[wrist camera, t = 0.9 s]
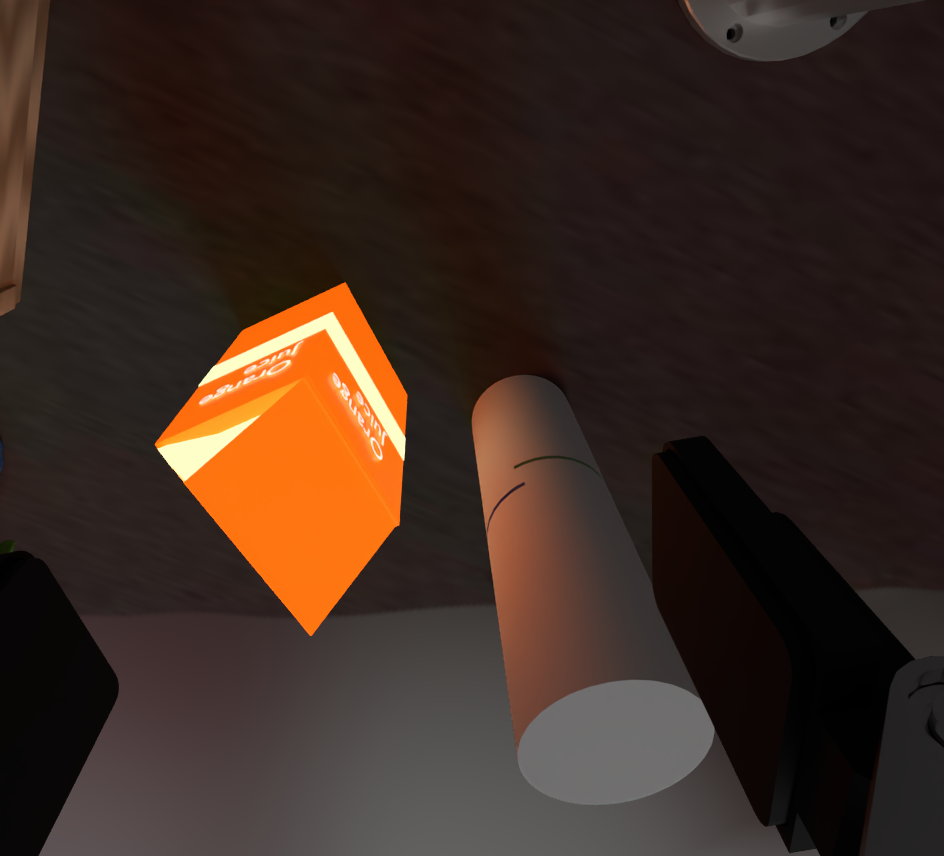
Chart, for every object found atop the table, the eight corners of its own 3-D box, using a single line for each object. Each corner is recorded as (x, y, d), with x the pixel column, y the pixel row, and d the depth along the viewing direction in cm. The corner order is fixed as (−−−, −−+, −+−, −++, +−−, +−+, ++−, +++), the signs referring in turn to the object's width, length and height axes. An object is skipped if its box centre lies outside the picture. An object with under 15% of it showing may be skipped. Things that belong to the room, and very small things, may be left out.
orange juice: (346, 280, 38) (279, 439, 21) (409, 395, 42) (397, 608, 25) (239, 330, 39) (89, 521, 22) (310, 437, 43) (232, 671, 26)
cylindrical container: (450, 419, 43) (475, 752, 22) (527, 354, 41) (640, 648, 19) (515, 479, 46) (596, 826, 24) (590, 420, 44) (750, 742, 22)
